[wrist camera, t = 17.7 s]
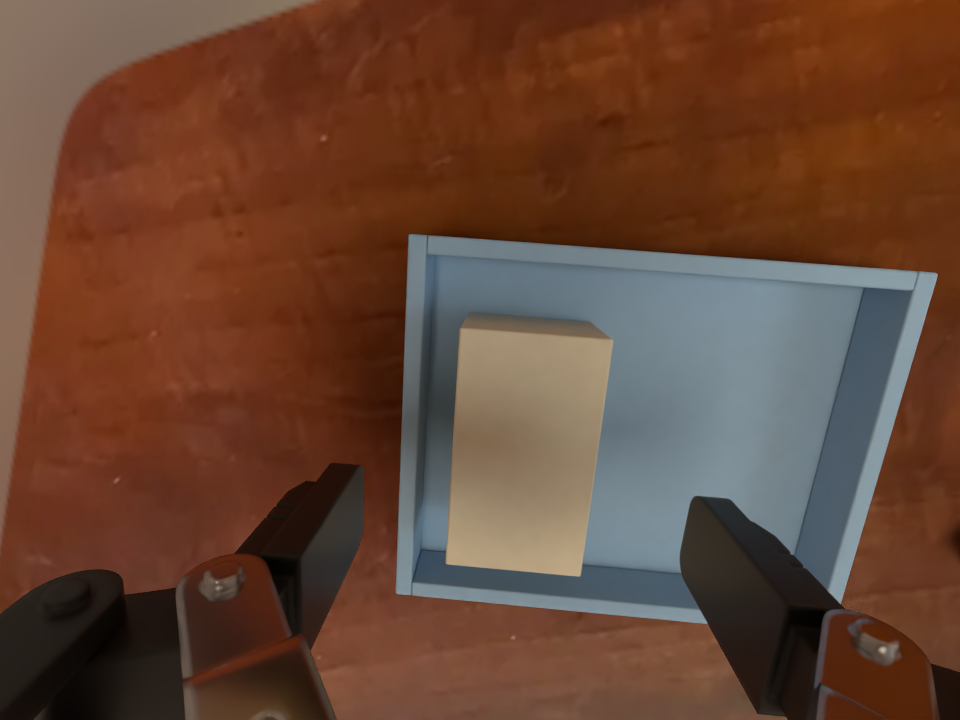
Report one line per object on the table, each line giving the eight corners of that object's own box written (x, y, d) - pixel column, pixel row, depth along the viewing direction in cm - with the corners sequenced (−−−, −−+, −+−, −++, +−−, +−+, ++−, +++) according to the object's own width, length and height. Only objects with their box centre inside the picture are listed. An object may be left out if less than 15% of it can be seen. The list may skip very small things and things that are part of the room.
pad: (455, 508, 19) (445, 565, 15) (467, 312, 17) (459, 327, 14) (566, 518, 19) (580, 577, 15) (591, 321, 17) (614, 339, 13)
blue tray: (408, 552, 20) (395, 594, 17) (421, 236, 17) (407, 233, 14) (790, 588, 19) (832, 636, 17) (875, 269, 16) (940, 272, 14)
